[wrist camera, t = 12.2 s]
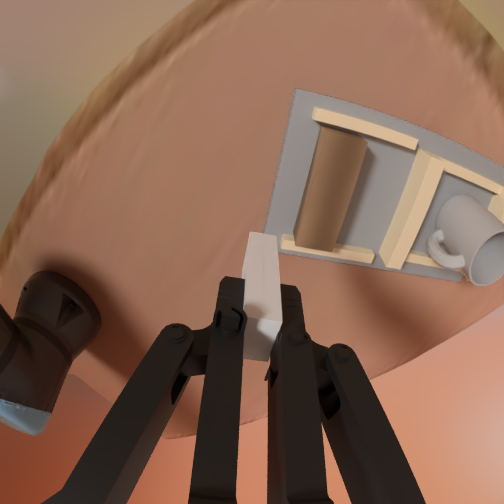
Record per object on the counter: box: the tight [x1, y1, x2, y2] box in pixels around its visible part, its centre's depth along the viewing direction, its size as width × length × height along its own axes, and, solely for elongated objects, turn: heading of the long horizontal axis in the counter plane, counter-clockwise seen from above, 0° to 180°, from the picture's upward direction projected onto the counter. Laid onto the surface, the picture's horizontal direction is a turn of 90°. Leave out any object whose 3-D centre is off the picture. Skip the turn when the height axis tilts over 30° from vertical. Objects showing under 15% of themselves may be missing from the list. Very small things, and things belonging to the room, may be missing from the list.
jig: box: [263, 88, 504, 282], centre depth 31 cm, size 30×18×4 cm, turn 80°
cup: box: [426, 194, 504, 286], centre depth 29 cm, size 7×10×9 cm
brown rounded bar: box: [293, 125, 368, 252], centre depth 29 cm, size 4×12×3 cm, turn 170°
